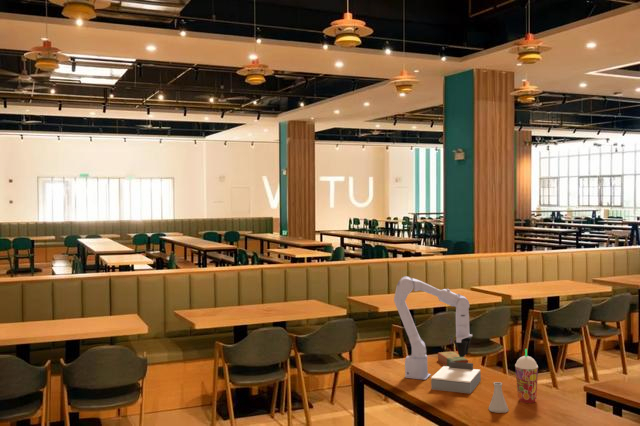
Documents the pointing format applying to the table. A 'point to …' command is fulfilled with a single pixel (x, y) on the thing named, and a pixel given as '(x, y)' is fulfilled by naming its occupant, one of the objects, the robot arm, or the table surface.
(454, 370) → the lid
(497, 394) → the flask
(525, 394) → the smoothie
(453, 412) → the table surface
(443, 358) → the carton
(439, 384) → the box
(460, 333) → the robot arm
